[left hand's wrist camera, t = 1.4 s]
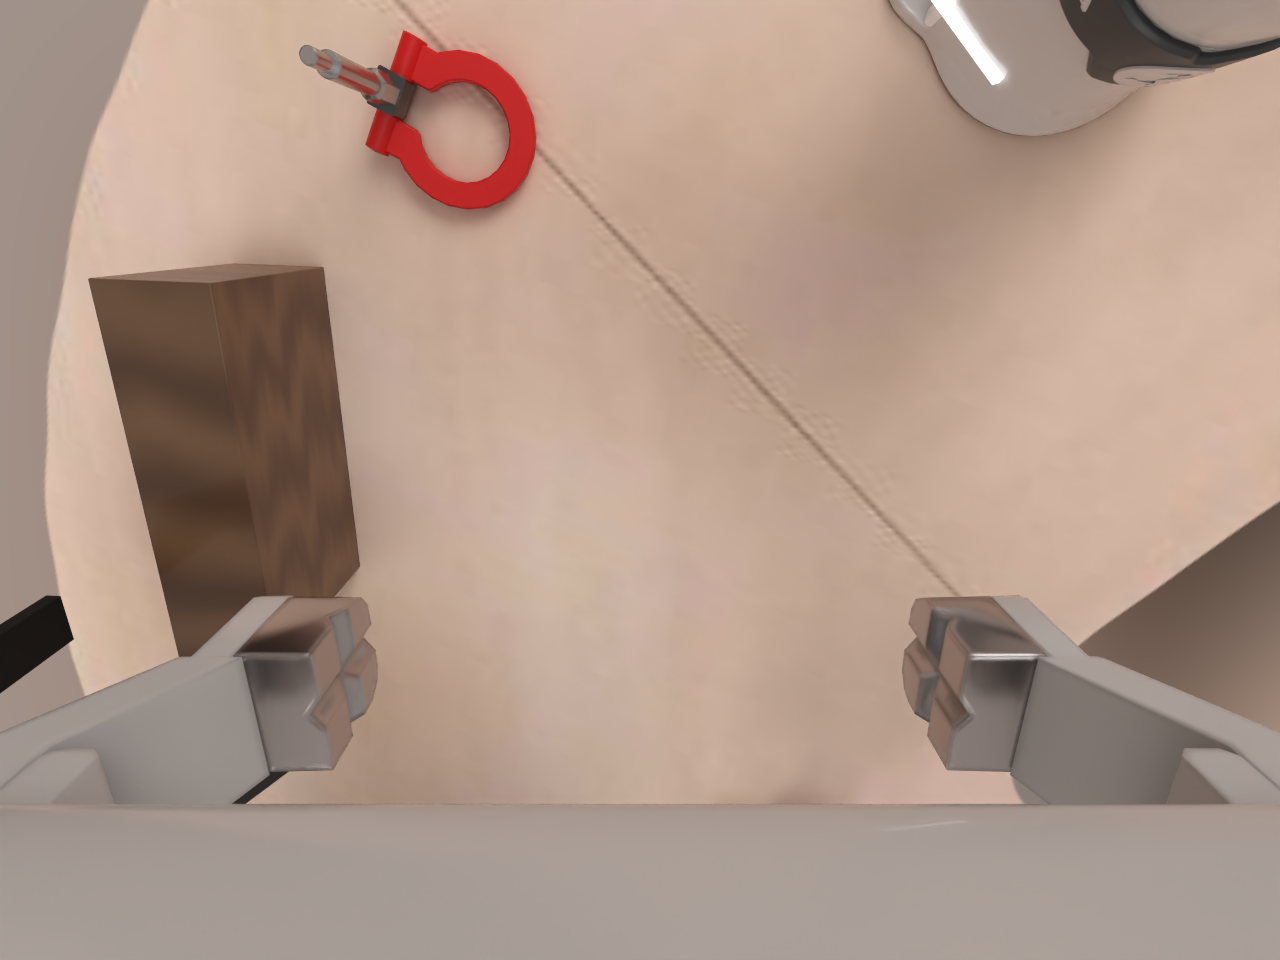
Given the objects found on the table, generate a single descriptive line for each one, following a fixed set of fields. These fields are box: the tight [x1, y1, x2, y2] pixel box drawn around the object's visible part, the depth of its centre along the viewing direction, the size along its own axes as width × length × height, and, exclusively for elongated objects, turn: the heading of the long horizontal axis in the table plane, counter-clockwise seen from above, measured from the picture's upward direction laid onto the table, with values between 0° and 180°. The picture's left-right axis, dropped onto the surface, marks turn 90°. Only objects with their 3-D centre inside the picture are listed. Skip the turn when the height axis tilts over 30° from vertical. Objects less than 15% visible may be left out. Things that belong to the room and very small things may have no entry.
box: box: [88, 264, 360, 657], centre depth 43 cm, size 22×6×12 cm, turn 178°
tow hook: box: [299, 31, 536, 209], centre depth 35 cm, size 8×13×9 cm
